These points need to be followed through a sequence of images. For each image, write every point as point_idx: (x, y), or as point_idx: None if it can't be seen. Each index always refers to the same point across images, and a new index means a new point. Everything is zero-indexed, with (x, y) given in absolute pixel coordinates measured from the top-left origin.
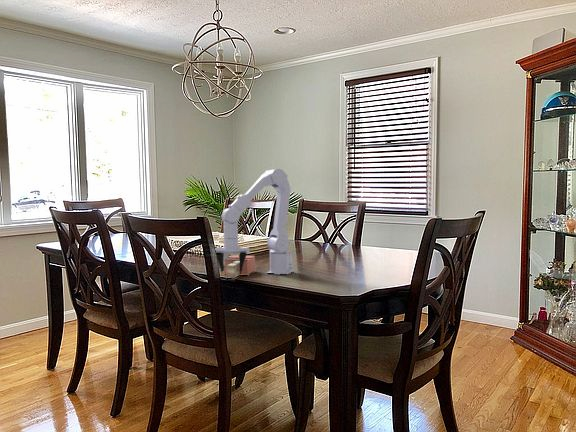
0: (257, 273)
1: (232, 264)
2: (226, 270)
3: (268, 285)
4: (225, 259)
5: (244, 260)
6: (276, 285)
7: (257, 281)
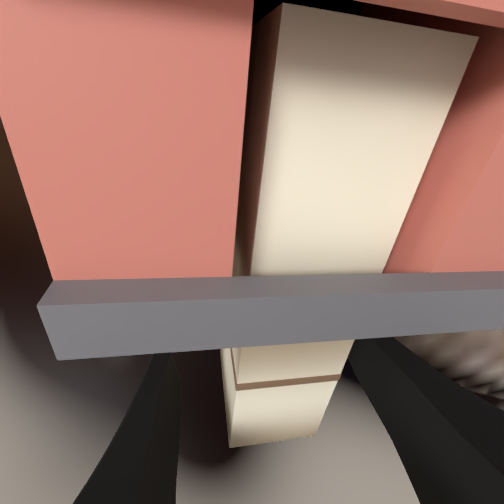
0: None
1: (286, 396)
2: (225, 394)
3: (467, 389)
4: (84, 353)
5: (481, 319)
6: (501, 382)
7: (431, 343)
